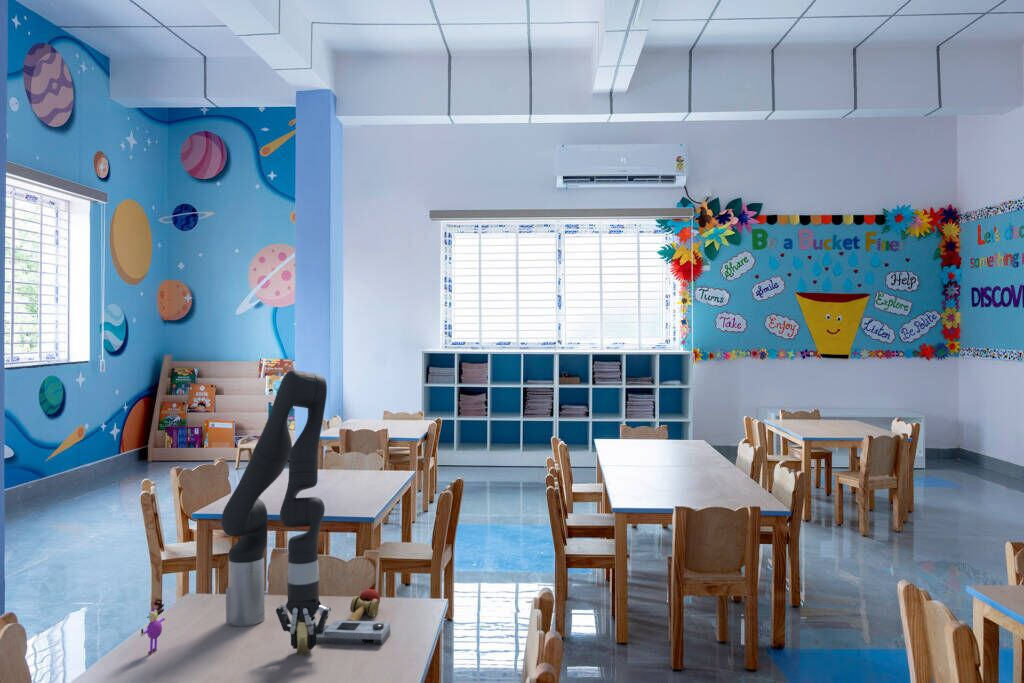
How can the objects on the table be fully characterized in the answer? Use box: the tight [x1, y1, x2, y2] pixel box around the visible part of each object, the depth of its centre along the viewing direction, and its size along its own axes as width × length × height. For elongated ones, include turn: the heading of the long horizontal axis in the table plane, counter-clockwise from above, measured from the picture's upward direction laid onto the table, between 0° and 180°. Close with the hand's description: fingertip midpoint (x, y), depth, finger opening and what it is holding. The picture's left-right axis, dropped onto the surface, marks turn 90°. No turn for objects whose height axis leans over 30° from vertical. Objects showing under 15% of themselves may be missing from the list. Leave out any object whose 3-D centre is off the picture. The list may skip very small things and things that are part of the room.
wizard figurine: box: [140, 603, 166, 655], centre depth 190 cm, size 11×3×12 cm, turn 177°
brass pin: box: [296, 620, 312, 656], centre depth 190 cm, size 3×3×8 cm
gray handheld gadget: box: [316, 619, 391, 646], centre depth 199 cm, size 20×8×4 cm, turn 83°
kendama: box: [347, 588, 381, 621], centre depth 213 cm, size 8×6×18 cm
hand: (303, 647), depth 190 cm, fingers closed on brass pin, 3 cm apart
